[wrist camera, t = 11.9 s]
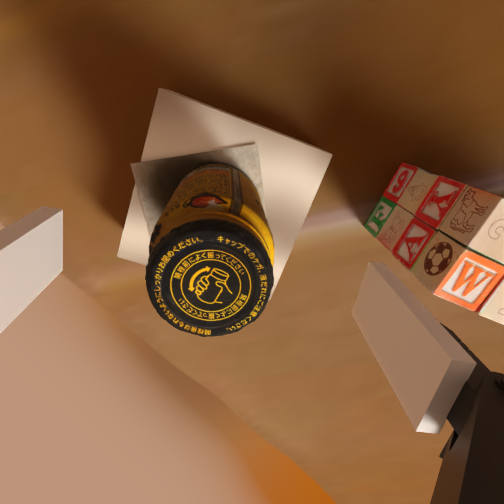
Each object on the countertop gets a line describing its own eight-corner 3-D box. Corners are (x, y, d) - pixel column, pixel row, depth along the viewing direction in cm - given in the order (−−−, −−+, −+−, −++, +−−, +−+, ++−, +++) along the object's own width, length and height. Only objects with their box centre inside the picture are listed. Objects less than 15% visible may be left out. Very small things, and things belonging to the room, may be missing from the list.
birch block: (170, 90, 27) (158, 87, 22) (316, 146, 29) (332, 154, 25) (133, 233, 31) (116, 256, 27) (263, 273, 33) (269, 301, 29)
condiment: (270, 244, 27) (300, 344, 16) (157, 261, 27) (108, 373, 16) (257, 143, 24) (282, 179, 13) (131, 162, 24) (48, 215, 13)
